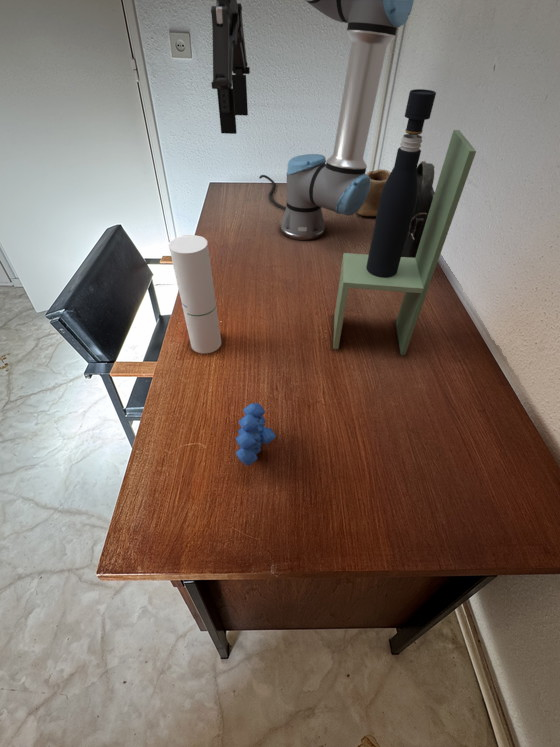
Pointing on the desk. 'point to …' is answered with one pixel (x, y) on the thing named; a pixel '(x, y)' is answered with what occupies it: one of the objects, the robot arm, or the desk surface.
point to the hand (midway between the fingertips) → (235, 123)
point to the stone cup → (374, 192)
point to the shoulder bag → (420, 208)
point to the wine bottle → (399, 191)
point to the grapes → (252, 434)
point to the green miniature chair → (420, 269)
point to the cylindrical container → (196, 291)
